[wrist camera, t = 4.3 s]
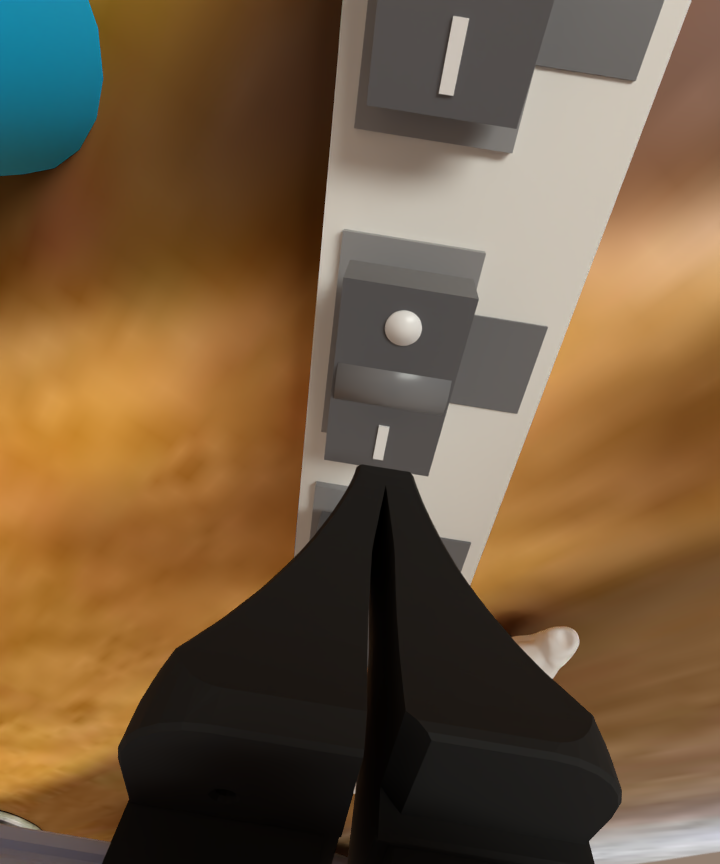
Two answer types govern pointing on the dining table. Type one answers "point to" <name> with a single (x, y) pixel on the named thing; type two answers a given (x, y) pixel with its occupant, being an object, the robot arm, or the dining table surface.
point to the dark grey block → (456, 57)
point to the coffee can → (15, 821)
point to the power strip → (482, 236)
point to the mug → (46, 82)
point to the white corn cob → (549, 648)
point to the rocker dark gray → (396, 364)
